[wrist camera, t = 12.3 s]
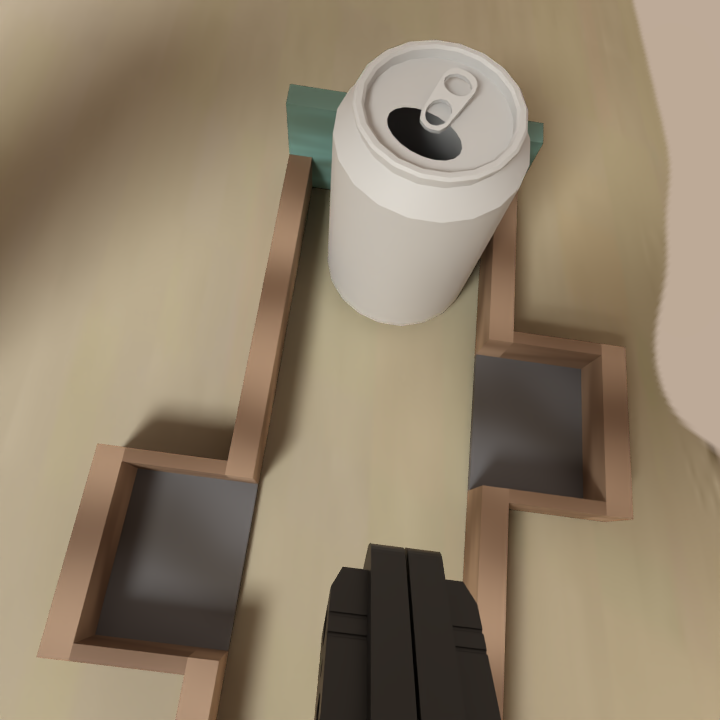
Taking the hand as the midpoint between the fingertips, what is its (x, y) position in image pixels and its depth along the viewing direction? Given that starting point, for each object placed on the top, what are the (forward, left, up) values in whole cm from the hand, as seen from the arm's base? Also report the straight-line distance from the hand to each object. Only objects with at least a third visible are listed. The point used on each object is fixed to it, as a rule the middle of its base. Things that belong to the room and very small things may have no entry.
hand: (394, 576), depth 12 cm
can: (-11, +10, -14) cm, 21 cm away
